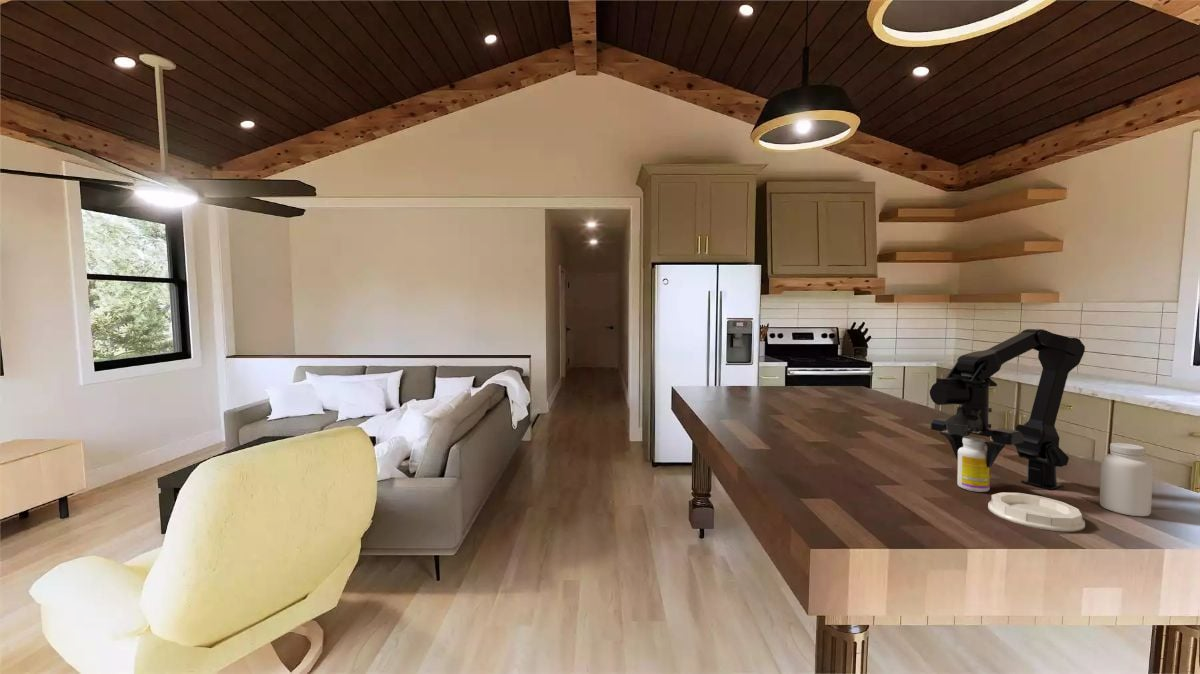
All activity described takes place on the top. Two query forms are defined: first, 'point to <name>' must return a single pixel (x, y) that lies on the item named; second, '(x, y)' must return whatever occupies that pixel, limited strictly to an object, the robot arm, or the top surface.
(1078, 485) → the top surface
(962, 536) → the top surface
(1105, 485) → the pill bottle
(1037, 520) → the tray
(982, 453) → the supplement bottle
